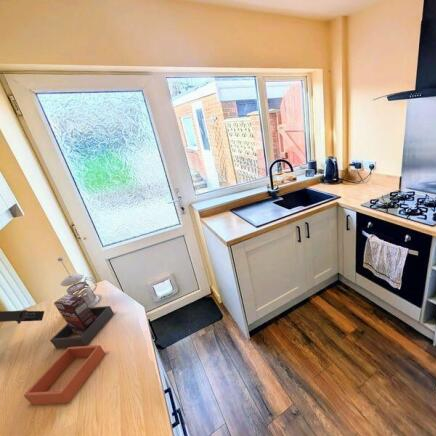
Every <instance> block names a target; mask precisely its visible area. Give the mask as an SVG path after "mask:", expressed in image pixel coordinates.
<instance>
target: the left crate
mask: <svg viewBox="0 0 436 436" xmlns="http://www.w3.org/2000/svg"><path fill="white" fill-rule="evenodd" d="M105 355H106V352H105V351H104V349H103V347H102V346H101V345H100V344H97V345H87V346H79V347H68V348H65V350H64V351H63V352H62V353H61V354H60V355H59V356H58V358H57V359H55V361H54V362H53V363H52V364H51V365H50V366H49V367H48V368H47V369H46V371H45V372H43V374H42V375H41V376H40V377H39V378H38V379H37V380H36V381H35V382H34V383H33V384H32V385H31V386H30V387H29V388H28V389H27V391H26V392H25V393H24V394H23V397H24V398H25V399H26V401H27V402H29V404H31V405H33V406H34V405H49V404H50V405H51V404H52V405H53V404H69V403H70V402H71V400H72V399H73V398H74V397H75V395H76V394H77V393H78V392H79V390H80V388H81V387H82V386H83V385H84V383H85V382H86V380H87V379H88V378H89V377H90V375H91V374H92V372H93V371H94V370H95V369H96V367H97V366H98V364H99V363H100V362H101V361H102V359H103V358H104V357H105ZM76 358H86V359H85V360H84V362H83V363H82V364H81V365H80V367H79V368H78V369H77V371H75V373H74V374H73V375H72V376H71V378H70V379H69V380H68V382H67V383H66V384H65V386H64V387H62V388H61V389H60V390H53V391H52V390H50V391H47V390H48V389H49V388H50V387H51V386H52V384H54V382H55V381H56V380H57V379H58V377H59V376H60V375H61V374H62V373H63V372H64V371H65V369H66V368H67V367H68V366H69V365H70V364H71V362H72V361H74V359H76Z"/></svg>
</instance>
